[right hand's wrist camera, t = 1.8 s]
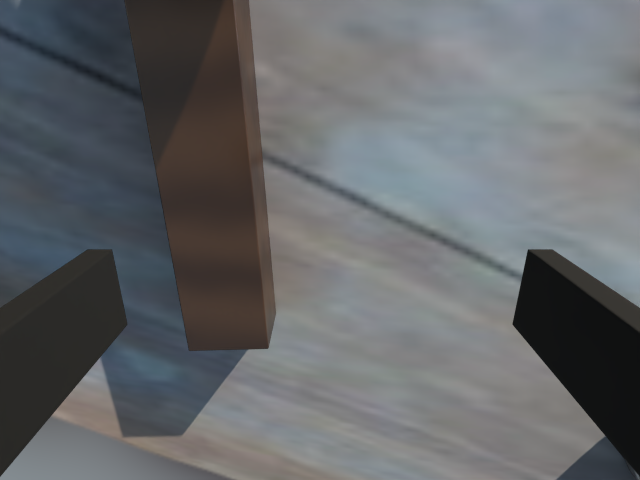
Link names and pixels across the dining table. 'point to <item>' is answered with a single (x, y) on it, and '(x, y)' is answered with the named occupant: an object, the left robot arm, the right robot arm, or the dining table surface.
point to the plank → (208, 164)
